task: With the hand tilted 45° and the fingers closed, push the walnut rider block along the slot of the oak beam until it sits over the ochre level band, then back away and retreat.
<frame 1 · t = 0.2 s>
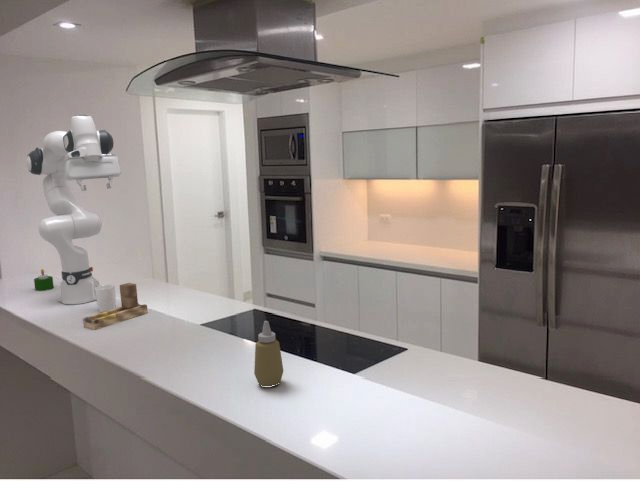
hand: (97, 189, 210), 51 cm above the counter, tool tilted 20°, fingers open, 8 cm apart
beam: (116, 319, 215), on the counter
white cup: (107, 310, 230), on the counter
rider: (129, 297, 219), point 8 cm above the counter, slide at 0.0 cm
candle: (44, 289, 271), on the counter
squeeze bottle: (269, 384, 151), on the counter
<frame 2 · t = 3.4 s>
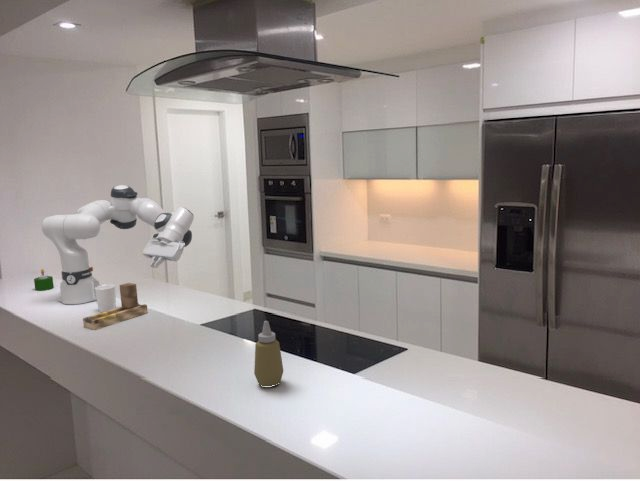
hand: (153, 266, 228), 17 cm above the counter, tool tilted 45°, fingers closed
nothing on the counter moved.
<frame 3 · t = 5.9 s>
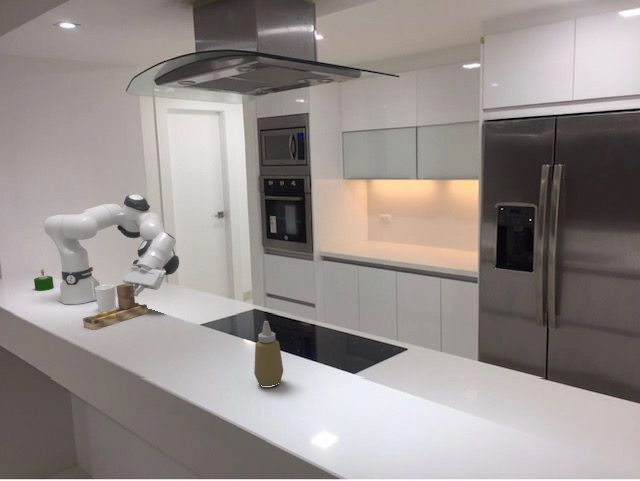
hand: (133, 295, 220), 8 cm above the counter, tool tilted 45°, fingers closed
rider: (126, 298, 218), point 8 cm above the counter, slide at 1.4 cm, touching gripper
everything else where it was.
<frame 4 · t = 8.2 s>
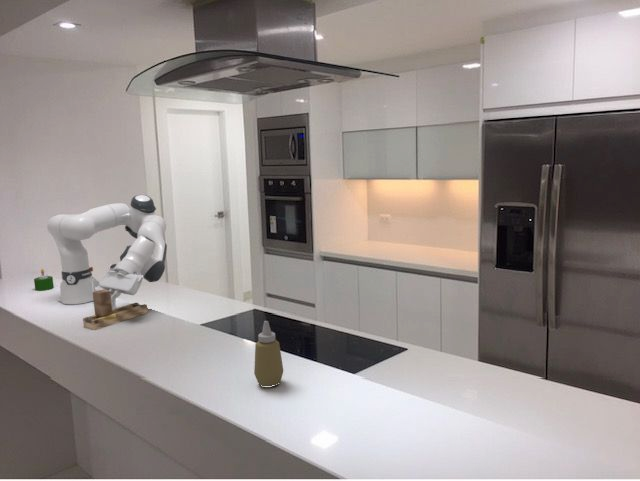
hand: (109, 300, 212), 8 cm above the counter, tool tilted 45°, fingers closed, pressing on rider
rider: (102, 304, 209), point 8 cm above the counter, slide at 11.9 cm, touching gripper
everything else where it was.
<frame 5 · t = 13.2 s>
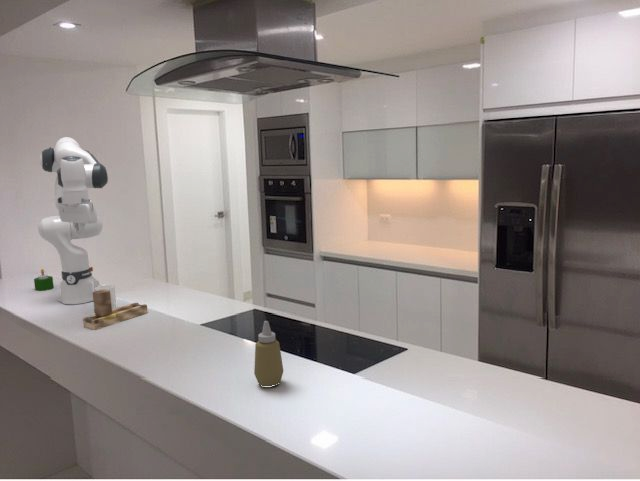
hand: (80, 234, 213), 34 cm above the counter, tool pointing down, fingers closed
rider: (102, 304, 209), point 8 cm above the counter, slide at 11.9 cm
everything else where it was.
at the end: rider slide at 11.9 cm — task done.
